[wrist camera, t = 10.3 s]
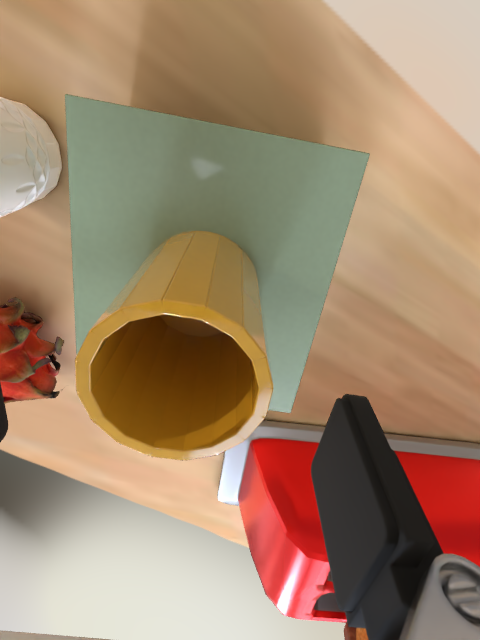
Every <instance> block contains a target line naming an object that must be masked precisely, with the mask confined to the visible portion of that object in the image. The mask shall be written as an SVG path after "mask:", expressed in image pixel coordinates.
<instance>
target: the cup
mask: <svg viewBox="0 0 480 640" xmlns="http://www.w3.org/2000/svg"><path fill="white" fill-rule="evenodd" d="M75 376H76V392H77V395H78V396H79V398H80V400H81V402H82V404H83V406H84V407H85V409H86V411H87V413H88V415H89V417H90V418H91V420H93V422H94V423H95V424H96V425H97V426H98V427H100V428H101V429H102V430H103V431H104V432H105V433H107V434H108V435H109V436H110V437H111V438H113V439H114V440H115V441H116V442H119V444H122V445H124V446H126V447H129V448H131V449H133V450H136V451H138V452H141V453H143V454H145V455H148V456H151V457H159V458H167V459H175V460H191V459H197V458H203V457H209V456H215V455H217V454H221V453H223V452H224V451H226V450H228V449H230V448H232V447H234V446H236V445H238V444H240V443H242V442H244V441H245V440H246V439H247V438H248V437H249V436H250V435H251V434H252V433H253V432H254V430H255V429H256V428H257V427H258V426H259V425H260V423H261V422H262V421H263V420H264V419H265V417H266V415H267V412H268V408H269V404H270V400H271V397H272V393H273V389H274V388H273V386H274V385H273V377H272V370H271V363H270V356H269V349H268V341H267V334H266V327H265V320H264V313H263V306H262V298H261V291H260V286H259V282H258V276H257V272H256V269H255V267H254V265H253V262H252V261H251V259H250V258H249V256H248V255H247V254H246V252H245V251H244V250H243V249H242V248H241V247H240V246H239V245H237V244H236V243H235V242H233V241H232V240H230V239H228V238H226V237H225V236H222V235H220V234H217V233H213V232H209V231H188V232H183V233H180V234H177V235H174V236H172V237H170V238H168V239H167V240H165V241H164V242H162V243H161V244H160V245H159V246H158V247H157V248H156V249H155V250H153V251H152V252H151V254H150V255H149V256H148V257H147V259H146V260H145V261H144V262H143V264H142V265H141V266H140V267H139V269H138V270H137V271H136V272H135V274H134V275H133V276H132V277H131V279H130V280H129V281H128V282H127V284H126V285H125V286H124V288H123V289H122V290H121V291H120V293H119V294H118V295H117V296H116V298H115V299H114V300H113V301H112V303H111V304H110V305H109V306H108V308H107V309H106V310H105V311H104V313H103V314H102V315H101V316H100V318H99V319H98V320H97V322H96V323H95V324H94V325H93V327H92V328H91V329H90V330H89V332H88V334H87V336H86V338H85V340H84V342H83V344H82V346H81V348H80V350H79V352H78V354H77V356H76V358H75Z"/></svg>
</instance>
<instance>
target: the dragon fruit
mask: <svg viewBox="0 0 480 640" xmlns="http://www.w3.org/2000/svg"><path fill="white" fill-rule="evenodd" d="M14 301H15V302H17V304H16V305H13V306H7V305H6V304H5V305H2V306H0V383H1V388H2V393H3V399H4V404H5V403H8V402H14V401H23V400H33V399H44V398H56V397H57V396H58V394H59V392H60V391H57V392H53V390H54V388H55V385H56V383H57V381H56V378H55V377H54V376H56V375H57V374H58V372H59V369H60V364H59V363H58V362H57V361H56V356H55V355H54V352H55V351H56V353H57V354H58V355H60V354H61V349H62V348H61V347H62V346H63V343H64V340H62V339H61V338H60V337H57V339H56V342H55V344H54V343H51V342H47V341H45V340H42V339H39V338H38V337H37V336H36V333H37V331H38V329H39V328H41V327H42V325H43V321H42V319H41V318H40V317H38V316H35V315H34V314H32V313H29V312H26V313H23V312H24V305H23V303H22V302H21V301H20V300H19V299H18V298H16V297H15V298H11V299H10V300H9V301H8V302H14ZM21 318H30V319H33V320H35V321H36V322H26V321H24V320H22V319H21ZM51 354H52V355H51ZM46 355H48V356H49V358H50V359H49V358H46V357H45V356H46ZM50 362H52V363H53V364H54V366H55V368H56V370H55V369H53V368H52V367H51V365H50ZM62 390H63V389H62Z"/></svg>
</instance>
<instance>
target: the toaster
mask: <svg viewBox="0 0 480 640" xmlns="http://www.w3.org/2000/svg"><path fill="white" fill-rule="evenodd" d="M324 430H325V427H322V426H313V425H304V424H295V423H285V422H275V421H265V420H263V421H262V422H261V423H260V425H259V426H258V427H257V428H256V429H255V430H254V432H253V433H252V434H251V435H250V436H249V437H248V438H247V439H246V440H245V441H244V442H242V443H240V444H238V445H236V446H234V447H232V448H230V449H228V450H226V451H225V453H224V459H223V465H222V471H221V477H220V483H219V489H218V495H217V496H218V500H219V501H221V502H224V503H226V504H231V505H237V506H239V507H240V511H241V516H242V520H243V524H244V528H245V532H246V536H247V540H248V544H249V548H250V552H251V556H252V558H253V561H254V564H255V566H256V569H257V572H258V574H259V577H260V580H261V583H262V585H263V588H264V591H265V593H266V595H267V596H268V598H269V599H270V600H271V601H272V602H273V604H274V605H275V606H276V607H277V608H278V610H279V611H280V612H281V613H282V614H283V615H285V616H288V617H292V618H296V619H303V620H317V621H332V622H345V623H346V625H345V628H344V637H345V640H368V636H367V632H366V628H355V627H348V624H347V619H346V614H345V611H342V610H340V609H339V607H338V605H337V601H336V596H335V591H334V586H333V581H332V576H331V571H330V566H329V561H328V556H327V551H326V547H325V542H324V537H323V532H322V527H321V522H320V517H319V512H318V507H317V502H316V497H315V492H314V487H313V482H312V477H311V464H312V461H313V458H314V455H315V453H316V450H317V448H318V445H319V443H320V440H321V437H322V435H323V432H324ZM384 435H385V437H386V439H387V441H388V443H389V445H390V447H391V449H392V450H394V452H395V453H396V455H397V456H398V458H399V461H400V463H401V465H402V467H403V469H404V471H405V473H406V475H407V477H408V479H409V482H410V484H411V486H412V488H413V490H414V492H415V494H416V496H417V498H418V500H419V503H420V505H421V507H422V509H423V511H424V513H425V515H426V517H427V519H428V521H429V523H430V526H431V528H432V530H433V532H434V534H435V536H436V538H437V540H438V542H439V544H440V547H441V549H442V551H443V553H444V554H455V555H458V556H461V557H464V558H466V559H468V560H469V561H471V562H473V563H475V564H476V565H477V566H479V567H480V444H478V443H470V442H461V441H451V440H442V439H433V438H424V437H414V436H405V435H396V434H387V433H384Z"/></svg>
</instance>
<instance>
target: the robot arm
mask: <svg viewBox="0 0 480 640" xmlns="http://www.w3.org/2000/svg"><path fill="white" fill-rule="evenodd" d="M7 430H8V420H7V414H6V409H5V404H4V399H3V393H2V388H1V383H0V442H1V441H2V440H3V438H4V437H5V435H6V433H7ZM311 477H312V482H313V487H314V492H315V497H316V502H317V507H318V512H319V517H320V522H321V527H322V532H323V537H324V542H325V547H326V551H327V556H328V561H329V566H330V571H331V576H332V581H333V586H334V591H335V596H336V601H337V605H338V607H339V609H340V610H342V611H345V614H346V619H347V624H348V627H355V628H366V632H367V636H368V640H480V567H479V566H477V565H476V564H475V563H473V562H471V561H469V560H468V559H466V558H464V557H461V556H458V555H455V554H444V553H443V551H442V549H441V547H440V544H439V542H438V540H437V538H436V536H435V534H434V532H433V530H432V528H431V526H430V523H429V521H428V519H427V517H426V515H425V513H424V511H423V509H422V507H421V505H420V503H419V500H418V498H417V496H416V494H415V492H414V490H413V488H412V486H411V484H410V482H409V479H408V477H407V475H406V473H405V471H404V469H403V467H402V465H401V463H400V461H399V458H398V456H397V455H396V453H395V452H394V450H392V449H391V447H390V445H389V443H388V441H387V439H386V437H385V435H384V432H383V430H382V428H381V426H380V424H379V422H378V420H377V418H376V415H375V413H374V411H373V409H372V407H371V405H370V403H369V400H368V399H367V398H366V397H364V396H357V395H349V394H345V395H344V396H343V397H342V399H341V398H338V399H337V400H336V402H335V404H334V407H333V409H332V412H331V414H330V417H329V419H328V422H327V425H326V427H325V430H324V432H323V435H322V437H321V440H320V443H319V445H318V448H317V450H316V453H315V455H314V458H313V461H312V464H311ZM0 640H109V639H97V638H85V637H72V636H59V635H47V634H36V633H24V632H12V631H0Z"/></svg>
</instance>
